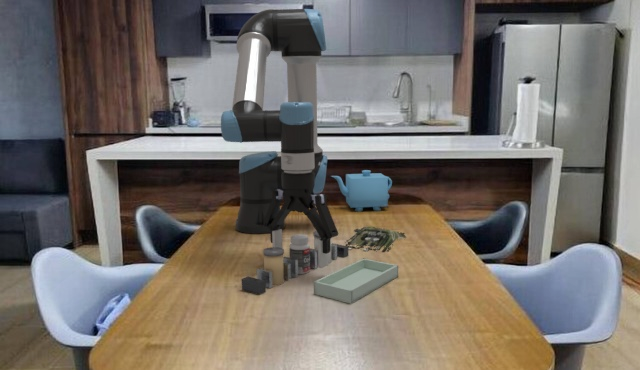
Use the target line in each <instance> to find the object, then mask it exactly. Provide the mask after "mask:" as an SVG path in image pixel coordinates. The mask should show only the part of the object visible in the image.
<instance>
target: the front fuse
mask: <svg viewBox="0 0 640 370" xmlns="http://www.w3.org/2000/svg"><path fill="white" fill-rule="evenodd" d="M262 254H263V265H264V266H263V267H264V268H263V269H266V270H270V271H272V284H273V287H274V286H280V285H283V284H284V282H285V279H284V266H283V257H284V254H285V250H284V248H283V247H282V248H278V247H273V246H272V247H266V248H264V249H263V250H262Z"/></svg>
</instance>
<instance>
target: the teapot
mask: <svg viewBox="0 0 640 370" xmlns="http://www.w3.org/2000/svg"><path fill="white" fill-rule="evenodd" d="M371 172H372V171H371V170H368V169H364V170H361V173H346V174H345V184H344V182H343V180H342V177H341V176H339V175H330V177H331V178H334V179H335V180H336V181H337V183H338V186H339V189H340V192H341V194H342V195H343V196H344V197H345V201H346V203H347V205H348V206H349V207H350V209H351V208H353V209H354V208H355V209H354V212H356V211H357V213H360V211H361V212H363V210H364V208H372V209H373V211H374V212H380V211H382V209H381V207H383V208H384V207H388V206H389V205H388V202H389V199H390V194H389V190H390V189H391V187H392V184H393V180H392V179H391V178H390V176H387V175H384V174H383V173H379V172H378V173H375V172H374V173H371Z"/></svg>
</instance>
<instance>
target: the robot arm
mask: <svg viewBox="0 0 640 370" xmlns="http://www.w3.org/2000/svg"><path fill="white" fill-rule="evenodd" d="M324 27H325V26H324V21H323V16H322V12H321V11H320V10H318V9H313V8H289V9H288V8H287V9H286V8H285V9H284V8H283V9H273V8H271V9H264V10H261V11H260V12H258V13H255V14H254V15H253V16H251V17H250V18H249V19H248V20H247V21H246V22H245V23H244V24H243V26H242V27H241V29H240V31H239V33H238V36H237V37H236V38H237V40H236V50H237V53H238V59H237V69H236V75H235V83H234V85H235V86H234V90H233V91H234V92H233V101H232V106H231V109H230V110H225V111H223V112H222V114H221V116H220V129H221V131H220V132H221V137H222V138H223V140H224V141H225V142H228V143H229V142H230V143H257V142H258V143H260V142H266V143H267V142H280V147H281V148H280V155H279V153H278V152H277V151H274V150H273V151H262V152H257V153H251V154H247V155H244V156H242V157H241V158H240V159H239V165H238V169H239V170H238V175H239V196H240V197H239V198H240V205H239V209H238V213H237V218H236V219H235V230H236V231H237V232H241V233H245V234H269V233H270V235H269V236H270V238H269V239H270V243H271V244H272V245H271V246H272V247H278V248H282V249H283V229H285V227H286V221H285V220H286V218H287V217H288V215H289V214H290V213H291V212H297V213H301V214H302V213H303V214H304V216H306V217H307V219H308V220H309V221H310V223H311V224H312V226H313V227H314V229H315V231H317V232H318V234H319V236H320V237H321V238H320V239H318V266H317V269H323V268H326V267H328V266H329V263H328V253H329V252H330V250H331V248H330V247H331V244H332V243H331V244H330V240H331V241H332V238H335V237H337V236H339V231H338V229H337V226H336V224H335V221H334V219H333V217H332V214H331V212H330V209H329V207H328V204H327V196H326V194H325V193H322V192H323V190H324V189H325V185H326V178H327V166H328V156H327V155H326V154H323V153H324V152H323V149H322V148H321V146H319V144H318V99H317V98H318V97H317V96H318V94H317V90H318V89H317V84H318V82H317V63H318V62H319V61H320V59H322V52H325V51H326V50H327V45H326V35H325V28H324ZM271 52H281V59H282V60H283V61H284V62H285V63H286V73H287V74H286V75H287V78H286V79H287V83H286V84H287V102H286V101H285V102H282V103H280V106H279V109H277V110H274V109H273V110H264V101H265V100H264V98H265V86H266V72H267V71H266V70H267V58H268V57H269V56H270V53H271ZM278 155H279V156H278ZM320 193H321V194H320ZM283 200H284V202H283ZM282 202H283V204H282ZM281 205H282V206H281Z"/></svg>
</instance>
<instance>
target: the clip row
mask: <svg viewBox="0 0 640 370" xmlns="http://www.w3.org/2000/svg"><path fill="white" fill-rule="evenodd" d="M348 246H349V245H348ZM348 246H346V245H345V244H343V245H342V244H338V243H332V242H331V260H334V261H336V260H337V259H338V257H340V258H345V257H348V256H349V250H348ZM283 266H284V281H290V280H292V278H298V277H299V274H298V259H293V258H290V256H283ZM310 269H312V270H313V269H314V270H316V269H318V250H316V249H314V248H311V247H310ZM273 287H274V286H273V284H272V271H270V270H266V269H264V268H261V267H260V268H257V269H256V278H255V277H252V276H246V277H244V278H241V290H242V291H245V292H249V293H252V294H255V295H258V296H260V295H262V294H265V293H266V292H267V289H271V288H273ZM266 288H267V289H266Z"/></svg>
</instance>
